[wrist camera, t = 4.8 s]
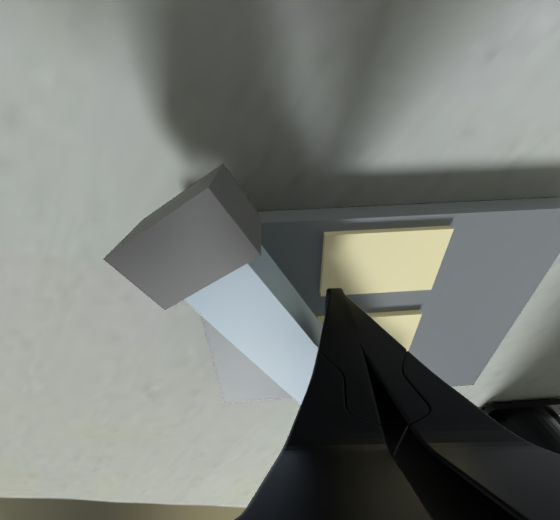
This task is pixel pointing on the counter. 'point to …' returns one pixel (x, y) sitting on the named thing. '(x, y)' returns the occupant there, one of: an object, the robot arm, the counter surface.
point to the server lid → (409, 278)
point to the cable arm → (224, 277)
